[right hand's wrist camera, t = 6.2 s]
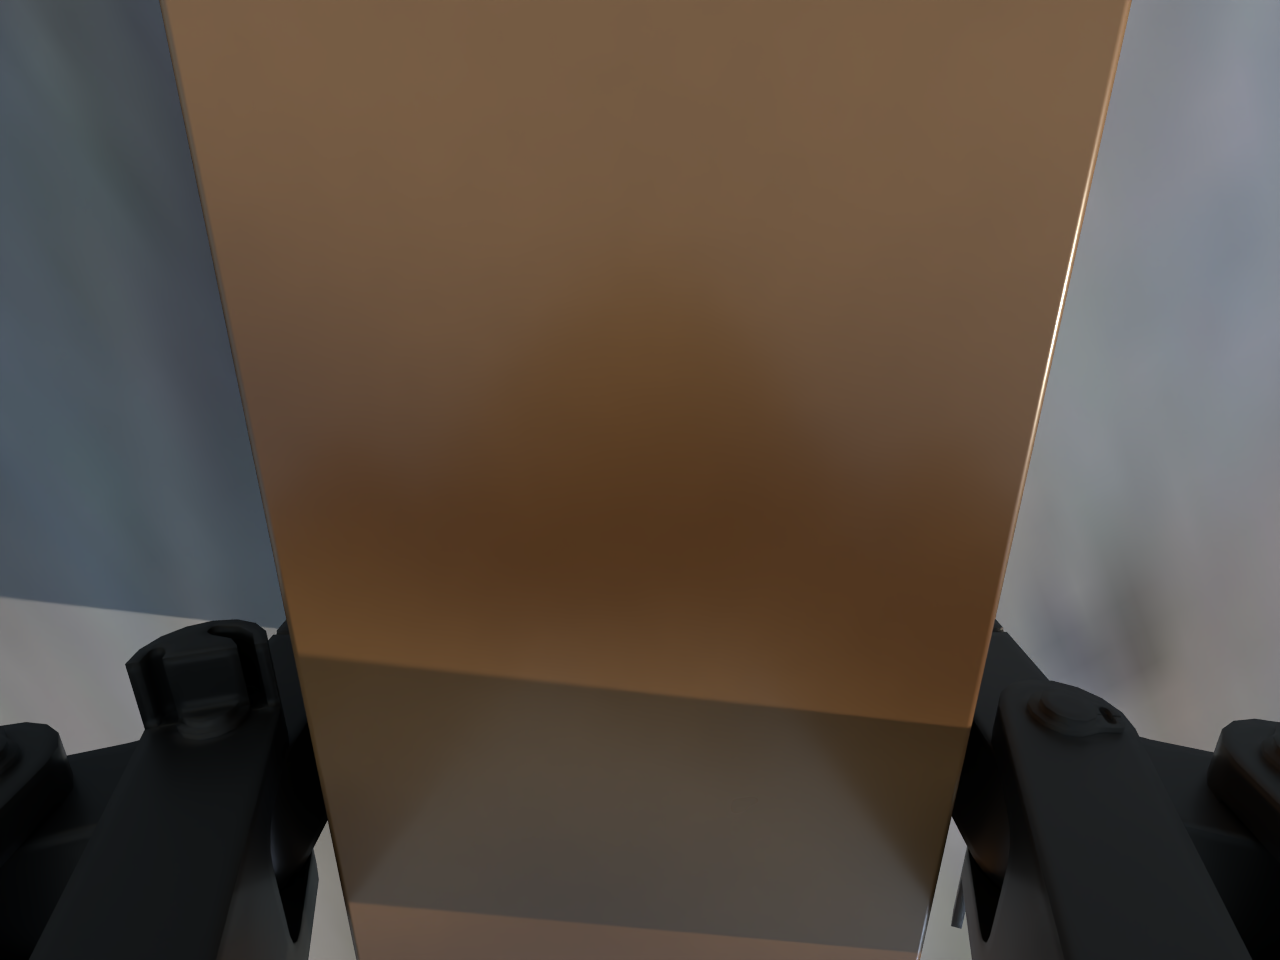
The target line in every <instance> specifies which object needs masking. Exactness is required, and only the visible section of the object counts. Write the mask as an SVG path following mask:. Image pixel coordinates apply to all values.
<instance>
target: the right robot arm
mask: <svg viewBox="0 0 1280 960" xmlns="http://www.w3.org/2000/svg"><path fill="white" fill-rule="evenodd" d="M125 665H126V669H127V672H128V675H129V679H130V682H131V685H132V688H133V692H134V695H135V698H136V701H137V705H138V708H139V711H140V715H141V718H142V721H143V724H144V728H145V731H144V733H143V735H142V737H141V739H140V740H138V741H135V742H131V743H127V744H122V745H117V746H112V747H107V748H102V749H97V750H92V751H88V752H83V753H78V754H73V755H68V756H67V755H66V753H65V750H64V747H63V744H62V741H61V739H60V736H59V733H58V732H57V731H55V730H54V729H53V728H51V727H50V726H49V725H47V724H38V723H29V722H24V723H17V724H10V725H3V726H0V960H308V957H309V949H310V942H311V934H312V927H313V919H314V911H315V904H316V896H317V889H318V881H319V878H318V871H317V863H316V859H315V854H314V850H313V848H314V846H315V844H316V842H317V840H318V838H319V836H320V834H321V832H322V830H323V828H324V826H325V824H326V822H327V820H328V819H327V814H326V809H325V804H324V799H323V794H322V789H321V784H320V780H319V775H318V770H317V765H316V760H315V755H314V750H313V746H312V741H311V736H310V731H309V726H308V721H307V716H306V712H305V707H304V702H303V697H302V692H301V687H300V682H299V678H298V673H297V668H296V663H295V658H294V653H293V648H292V644H291V639H290V634H289V629H288V624H287V619H286V621H285V622H284V623H283V624H282V625H281V626H280V628H279V629H278V630H277V635H273V636H272V637H271V638H270V639H269V640H268V638H267V633H266V631H265V630H264V629H263V628H261V627H260V626H259V625H257V624H256V623H253V622H248V621H242V620H218V621H210V622H205V623H201V624H196V625H192V626H187V627H185V628H182V629H179V630H177V631H174V632H172V633H169V634H166V635H164V636H161V637H159V638H158V639H156V640H154V641H153V642H151V643H150V644H148V645H146V646H145V647H143V648H141V649H140V650H138V651H137V652H136V653H135V655H134V656H133V657H132V658H131V659H130V660H129V661H128V662H127V663H126V664H125ZM952 818H953V819H954V821H955V823H956V825H957V827H958V829H959V831H960V833H961V835H962V837H963V839H964V841H965V843H966V845H967V850H966V854H965V859H964V863H963V868H962V873H961V877H960V882H959V886H958V891H957V896H956V900H955V905H954V909H953V916H952V924H951V926H953V927H957V928H962V923H963V919H964V915H965V912H966V917H967V925H968V932H969V940H970V948H971V955H972V960H1280V722H1273V721H1266V720H1259V719H1248V720H1238V721H1233V722H1231V723H1230V724H1229V725H1227V726H1226V727H1225V728H1223V729H1222V731H1221V734H1220V737H1219V740H1218V742H1217V745H1216V748H1215V751H1214V752H1209V751H1204V750H1199V749H1194V748H1189V747H1184V746H1179V745H1174V744H1169V743H1164V742H1160V741H1155V740H1150V739H1146V738H1143V737H1139V735H1138V733H1137V731H1136V729H1135V728H1134V727H1133V725H1132V724H1131V723H1130V722H1129V720H1128V719H1127V718H1126V717H1125V715H1124V714H1123V713H1122V712H1121V711H1119V710H1118V709H1116V708H1115V707H1113V706H1112V705H1111V704H1109V703H1108V702H1106V701H1105V700H1104V699H1102V698H1100V697H1098V696H1096V695H1093V694H1091V693H1089V692H1087V691H1085V690H1082V689H1080V688H1078V687H1074V686H1071V685H1067V684H1063V683H1059V682H1055V681H1049V680H1048V679H1047V677H1046V676H1045V675H1044V674H1043V673H1042V672H1041V671H1040V669H1039V668H1038V667H1037V666H1036V665H1035V664H1034V663H1033V661H1032V660H1031V659H1030V658H1029V657H1028V656H1027V655H1026V653H1025V652H1024V651H1023V650H1022V649H1021V648H1020V647H1019V645H1018V644H1017V643H1016V642H1015V641H1014V640H1013V639H1012V637H1011V636H1010V635H1009V634H1008V633H1007V632H1003V627H1002V626H1001V625H1000V624H999V623H998V621H997V620H996V619H995V622H994V626H993V631H992V635H991V640H990V644H989V649H988V653H987V658H986V662H985V667H984V672H983V676H982V681H981V685H980V690H979V694H978V699H977V703H976V708H975V712H974V717H973V721H972V726H971V730H970V735H969V739H968V744H967V748H966V753H965V758H964V762H963V767H962V771H961V776H960V780H959V785H958V789H957V794H956V798H955V803H954V807H953V812H952Z"/></svg>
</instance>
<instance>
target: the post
mask: <svg viewBox="0 0 1280 960" xmlns="http://www.w3.org/2000/svg"><path fill="white" fill-rule="evenodd" d="M1131 1H1132V0H159V2H160V7H161V12H162V16H163V21H164V26H165V31H166V36H167V41H168V46H169V50H170V55H171V60H172V65H173V70H174V75H175V80H176V84H177V89H178V94H179V99H180V104H181V109H182V114H183V118H184V123H185V128H186V133H187V138H188V143H189V148H190V153H191V157H192V162H193V167H194V172H195V177H196V182H197V187H198V191H199V196H200V201H201V206H202V211H203V216H204V221H205V225H206V230H207V235H208V240H209V245H210V250H211V255H212V259H213V264H214V269H215V274H216V279H217V284H218V289H219V293H220V298H221V303H222V308H223V313H224V318H225V323H226V328H227V332H228V337H229V342H230V347H231V352H232V357H233V362H234V366H235V371H236V376H237V381H238V386H239V391H240V396H241V400H242V405H243V410H244V415H245V420H246V425H247V430H248V434H249V439H250V444H251V449H252V454H253V459H254V464H255V468H256V473H257V478H258V483H259V488H260V493H261V498H262V503H263V507H264V512H265V517H266V522H267V527H268V532H269V537H270V541H271V546H272V551H273V556H274V561H275V566H276V571H277V575H278V580H279V585H280V590H281V595H282V600H283V605H284V609H285V614H286V619H287V624H288V629H289V634H290V639H291V644H292V648H293V653H294V658H295V663H296V668H297V673H298V678H299V682H300V687H301V692H302V697H303V702H304V707H305V712H306V716H307V721H308V726H309V731H310V736H311V741H312V746H313V750H314V755H315V760H316V765H317V770H318V775H319V780H320V784H321V789H322V794H323V799H324V804H325V809H326V814H327V819H328V823H329V828H330V833H331V838H332V843H333V848H334V853H335V857H336V862H337V867H338V872H339V877H340V882H341V887H342V891H343V896H344V901H345V906H346V911H347V916H348V921H349V925H350V930H351V935H352V940H353V945H354V950H355V955H356V959H357V960H920V957H921V952H922V948H923V943H924V939H925V934H926V930H927V925H928V921H929V916H930V912H931V907H932V902H933V898H934V893H935V889H936V884H937V880H938V875H939V871H940V866H941V862H942V857H943V853H944V848H945V844H946V839H947V835H948V830H949V825H950V821H951V816H952V812H953V807H954V803H955V798H956V794H957V789H958V785H959V780H960V776H961V771H962V767H963V762H964V758H965V753H966V748H967V744H968V739H969V735H970V730H971V726H972V721H973V717H974V712H975V708H976V703H977V699H978V694H979V690H980V685H981V681H982V676H983V672H984V667H985V662H986V658H987V653H988V649H989V644H990V640H991V635H992V631H993V626H994V622H995V617H996V613H997V608H998V604H999V599H1000V595H1001V590H1002V585H1003V581H1004V576H1005V572H1006V567H1007V563H1008V558H1009V554H1010V549H1011V545H1012V540H1013V536H1014V531H1015V527H1016V522H1017V518H1018V513H1019V509H1020V504H1021V499H1022V495H1023V490H1024V486H1025V481H1026V477H1027V472H1028V468H1029V463H1030V459H1031V454H1032V450H1033V445H1034V441H1035V436H1036V432H1037V427H1038V422H1039V418H1040V413H1041V409H1042V404H1043V400H1044V395H1045V391H1046V386H1047V382H1048V377H1049V373H1050V368H1051V364H1052V359H1053V355H1054V350H1055V345H1056V341H1057V336H1058V332H1059V327H1060V323H1061V318H1062V314H1063V309H1064V305H1065V300H1066V296H1067V291H1068V287H1069V282H1070V278H1071V273H1072V269H1073V264H1074V259H1075V255H1076V250H1077V246H1078V241H1079V237H1080V232H1081V228H1082V223H1083V219H1084V214H1085V210H1086V205H1087V201H1088V196H1089V192H1090V187H1091V182H1092V178H1093V173H1094V169H1095V164H1096V160H1097V155H1098V151H1099V146H1100V142H1101V137H1102V133H1103V128H1104V124H1105V119H1106V115H1107V110H1108V106H1109V101H1110V96H1111V92H1112V87H1113V83H1114V78H1115V74H1116V69H1117V65H1118V60H1119V56H1120V51H1121V47H1122V42H1123V38H1124V33H1125V29H1126V24H1127V19H1128V15H1129V10H1130V6H1131Z"/></svg>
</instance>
